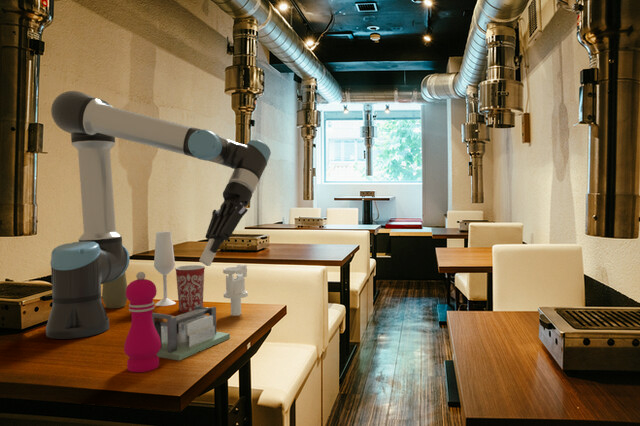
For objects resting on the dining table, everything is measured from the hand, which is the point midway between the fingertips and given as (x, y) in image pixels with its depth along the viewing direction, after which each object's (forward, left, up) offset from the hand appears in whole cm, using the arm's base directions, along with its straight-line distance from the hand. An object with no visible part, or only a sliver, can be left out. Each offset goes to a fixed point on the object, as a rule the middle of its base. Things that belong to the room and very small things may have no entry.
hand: (204, 263), depth 124 cm
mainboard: (+2, -9, -19) cm, 20 cm away
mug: (-24, +22, -19) cm, 38 cm away
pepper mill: (+3, -24, -19) cm, 30 cm away
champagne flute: (-37, +24, -19) cm, 49 cm away
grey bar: (+2, -9, -12) cm, 15 cm away
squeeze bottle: (-49, +14, -19) cm, 55 cm away
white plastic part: (-6, +21, -19) cm, 29 cm away
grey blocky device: (+2, -9, -17) cm, 20 cm away
